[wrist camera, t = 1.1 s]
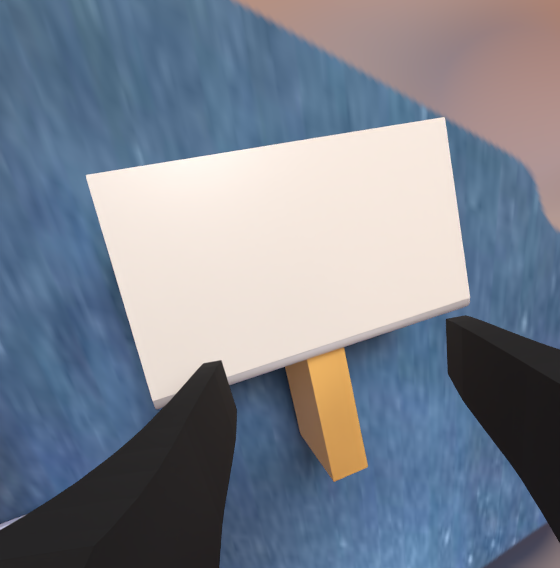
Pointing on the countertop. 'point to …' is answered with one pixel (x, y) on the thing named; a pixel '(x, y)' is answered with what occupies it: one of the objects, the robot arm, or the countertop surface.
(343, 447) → the tab
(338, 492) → the countertop surface
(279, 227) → the dispenser
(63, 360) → the countertop surface
